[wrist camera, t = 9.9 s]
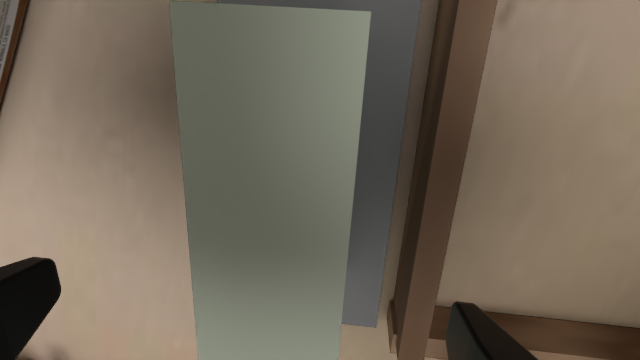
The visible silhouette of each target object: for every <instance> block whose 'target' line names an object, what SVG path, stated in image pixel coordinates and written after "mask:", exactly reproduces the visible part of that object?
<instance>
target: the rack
mask: <svg viewBox="0 0 640 360" xmlns="http://www.w3.org/2000/svg"><path fill="white" fill-rule="evenodd" d="M496 5H497V0H440V1H439V7H438V14H437V20H436V27H435V33H434V40H433V46H432V53H431V59H430V66H429V72H428V79H427V85H426V92H425V98H424V105H423V111H422V118H421V124H420V131H419V137H418V144H417V150H416V157H415V163H414V170H413V176H412V183H411V189H410V196H409V202H408V209H407V215H406V222H405V228H404V235H403V241H402V248H401V254H400V261H399V267H398V274H397V280H396V287H395V293H394V300H393V302H392V301H390V302H389V308H388V315H387V324H388V334H389V345H390V353H395V354H397V359H398V360H424V357H428V358H436V359H445V360H448V354H447V347H446V330H447V325H448V321H449V316H450V312H451V308H447V307H437V306H435V304H436V299H437V294H438V289H439V284H440V279H441V274H442V269H443V264H444V260H445V255H446V250H447V245H448V240H449V235H450V230H451V225H452V220H453V215H454V211H455V206H456V201H457V196H458V191H459V186H460V181H461V176H462V171H463V167H464V162H465V157H466V152H467V147H468V142H469V137H470V132H471V127H472V122H473V118H474V113H475V108H476V103H477V98H478V93H479V88H480V83H481V78H482V74H483V69H484V64H485V59H486V54H487V49H488V44H489V39H490V34H491V30H492V25H493V20H494V15H495V10H496ZM484 313H486V314H487V315H488V316H489V317H490V318H491V319H492V320H494V321H495V322H496V323H497V324H498V325H499V326H500V327H502V328H503V329H504V330H505V331H506V332H507V333H509V334H510V335H511V336H512V337H513V338H514V339H515V340H517V341H518V342H519V343H520V344H521V345H522V346H523V347H525V348H526V349H527V350H528V351H529V352H530V353H531V354H533V355H534V356H535V357H536V358H537V359H538V360H640V329H637V328H628V327H619V326H610V325H601V324H592V323H583V322H574V321H565V320H556V319H547V318H537V317H528V316H519V315H510V314H501V313H492V312H484Z"/></svg>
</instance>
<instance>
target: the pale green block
mask: <svg viewBox="0 0 640 360" xmlns="http://www.w3.org/2000/svg"><path fill="white" fill-rule="evenodd" d="M169 9H170V21H171V34H172V46H173V58H174V70H175V82H176V95H177V107H178V119H179V131H180V143H181V156H182V168H183V180H184V192H185V205H186V217H187V229H188V241H189V253H190V266H191V278H192V290H193V302H194V314H195V327H196V339H197V351H198V360H338V354H339V343H340V333H341V323H342V312H343V302H344V291H345V281H346V270H347V260H348V249H349V239H350V228H351V218H352V207H353V197H354V186H355V176H356V165H357V155H358V145H359V134H360V124H361V113H362V103H363V92H364V82H365V71H366V61H367V50H368V40H369V29H370V19H371V12H370V11H352V10H333V9H315V8H296V7H278V6H259V5H241V4H222V3H204V2H185V1H169Z"/></svg>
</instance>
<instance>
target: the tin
mask: <svg viewBox="0 0 640 360" xmlns="http://www.w3.org/2000/svg"><path fill="white" fill-rule="evenodd" d="M27 4H28V0H0V104H1V101H2V97H3V93H4V90H5V86H6V82H7V78H8V75H9V71H10V68H11V64H12V60H13V56H14V52H15V49H16V45H17V41H18V37H19V34H20V30H21V26H22V22H23V19H24V15H25V11H26V8H27Z"/></svg>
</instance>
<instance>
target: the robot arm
mask: <svg viewBox="0 0 640 360" xmlns="http://www.w3.org/2000/svg"><path fill="white" fill-rule="evenodd" d="M60 294H61V285H60V281H59V277H58V273H57V268H56V265H55V262H54V261H53V260H51V259H49V258H40V257H31V258H28V259H24V260H21V261H18V262H15V263H12V264H9V265H6V266H3V267H0V360H15V359H16V358H17V357H18V355H19V354H20V352H21V351H22V350H23V348H24V347H25V346H26V344H27V343H28V341H29V340H30V339H31V337H32V336H33V334H34V333H35V331H36V330H37V329H38V327H39V326H40V324H41V323H42V322H43V320H44V319H45V317H46V316H47V315H48V313H49V312H50V310H51V309H52V308H53V306H54V305H55V303H56V302H57V300H58V299H59V297H60ZM446 347H447V354H448V360H538V359H537V358H536V357H535V356H534V355H533V354H531V353H530V352H529V351H528V350H527V349H526V348H525V347H523V346H522V345H521V344H520V343H519V342H518V341H517V340H515V339H514V338H513V337H512V336H511V335H510V334H509V333H507V332H506V331H505V330H504V329H503V328H502V327H500V326H499V325H498V324H497V323H496V322H495V321H494V320H492V319H491V318H490V317H489V316H488V315H487V314H486V313H484V312H483V311H482V310H481V309H480V308H479V307H478V306H476V305H475V304H473V303H465V302H455V303H453V305H452V308H451V312H450V316H449V321H448V325H447V330H446Z"/></svg>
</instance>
